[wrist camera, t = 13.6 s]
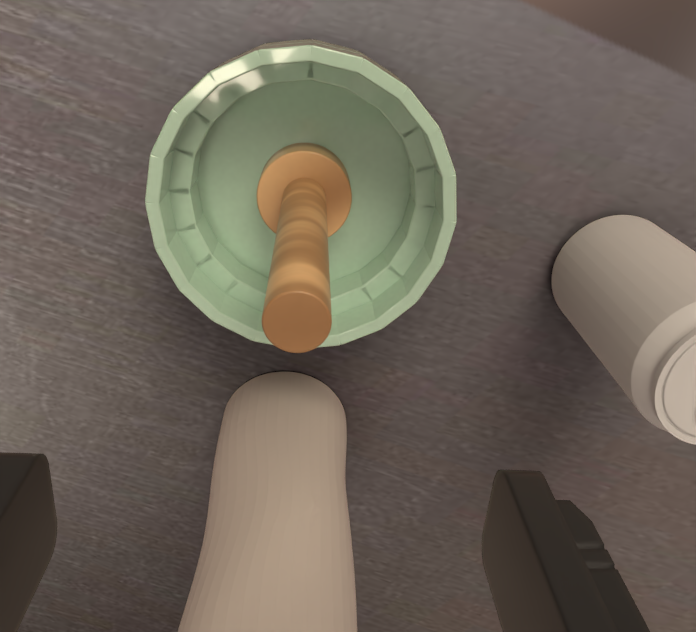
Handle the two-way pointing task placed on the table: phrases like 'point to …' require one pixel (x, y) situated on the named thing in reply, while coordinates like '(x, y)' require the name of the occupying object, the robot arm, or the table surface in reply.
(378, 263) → the bowl
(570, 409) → the table surface
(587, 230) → the beverage can
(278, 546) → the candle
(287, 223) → the pestle
